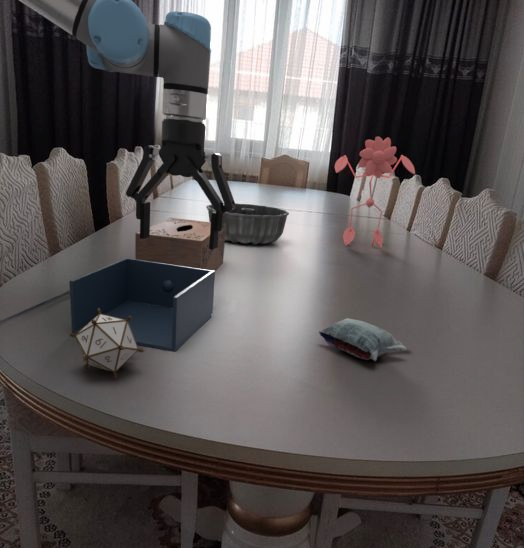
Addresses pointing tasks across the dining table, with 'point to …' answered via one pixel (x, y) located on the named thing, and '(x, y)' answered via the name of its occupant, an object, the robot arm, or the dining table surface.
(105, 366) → the game die
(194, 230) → the tissue box cover
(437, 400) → the dining table surface
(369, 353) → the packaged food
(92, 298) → the blue open box
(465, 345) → the dining table surface
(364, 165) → the figurine
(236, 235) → the bundt pan
